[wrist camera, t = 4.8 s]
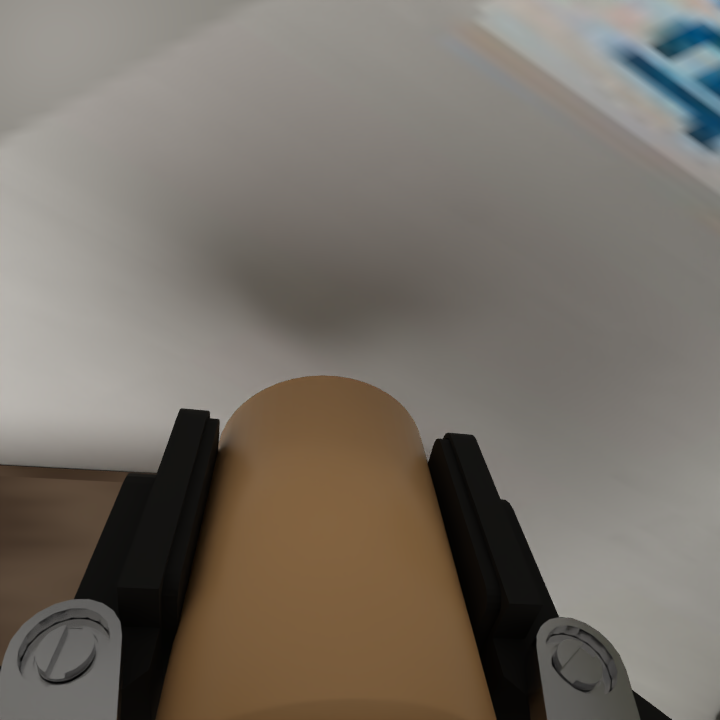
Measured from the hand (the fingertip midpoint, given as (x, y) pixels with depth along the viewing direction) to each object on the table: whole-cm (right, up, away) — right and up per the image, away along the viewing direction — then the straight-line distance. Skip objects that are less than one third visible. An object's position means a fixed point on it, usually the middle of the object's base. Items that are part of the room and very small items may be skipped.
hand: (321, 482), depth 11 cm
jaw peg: (0, 0, +1) cm, 1 cm away
